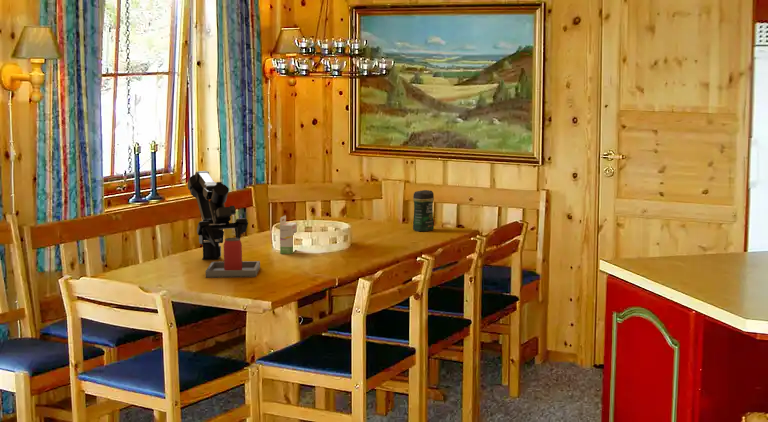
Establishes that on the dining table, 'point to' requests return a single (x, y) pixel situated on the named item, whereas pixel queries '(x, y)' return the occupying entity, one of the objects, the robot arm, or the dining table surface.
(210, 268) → the parts tray
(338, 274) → the dining table surface
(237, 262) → the beer can
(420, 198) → the coffee jar
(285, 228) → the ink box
